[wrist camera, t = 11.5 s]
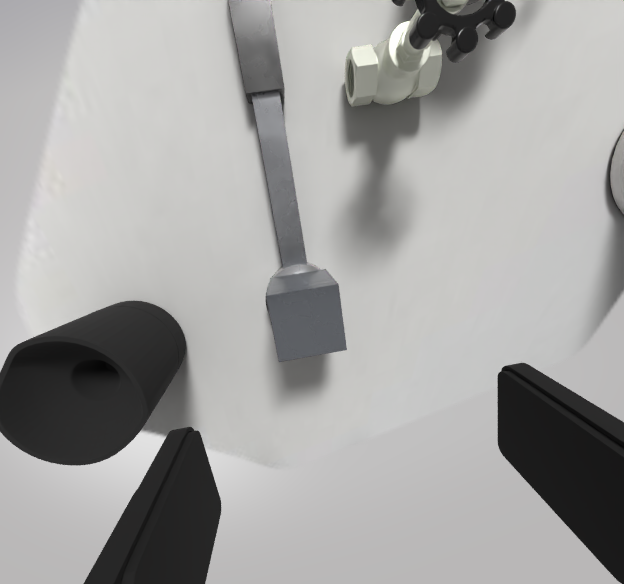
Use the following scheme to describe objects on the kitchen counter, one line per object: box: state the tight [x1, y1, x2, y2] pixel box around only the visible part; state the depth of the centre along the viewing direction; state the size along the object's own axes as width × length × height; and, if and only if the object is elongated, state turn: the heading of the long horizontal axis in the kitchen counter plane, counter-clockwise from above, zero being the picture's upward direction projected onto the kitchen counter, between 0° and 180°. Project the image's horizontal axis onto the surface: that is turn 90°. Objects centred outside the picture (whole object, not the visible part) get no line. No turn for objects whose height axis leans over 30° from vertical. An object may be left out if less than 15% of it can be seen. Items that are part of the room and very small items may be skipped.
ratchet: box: [228, 0, 321, 315], centre depth 23 cm, size 6×28×6 cm, turn 9°
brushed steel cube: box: [266, 269, 347, 362], centre depth 24 cm, size 5×5×6 cm
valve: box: [345, 0, 516, 107], centre depth 19 cm, size 7×7×12 cm
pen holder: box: [0, 301, 185, 465], centre depth 24 cm, size 9×9×10 cm
